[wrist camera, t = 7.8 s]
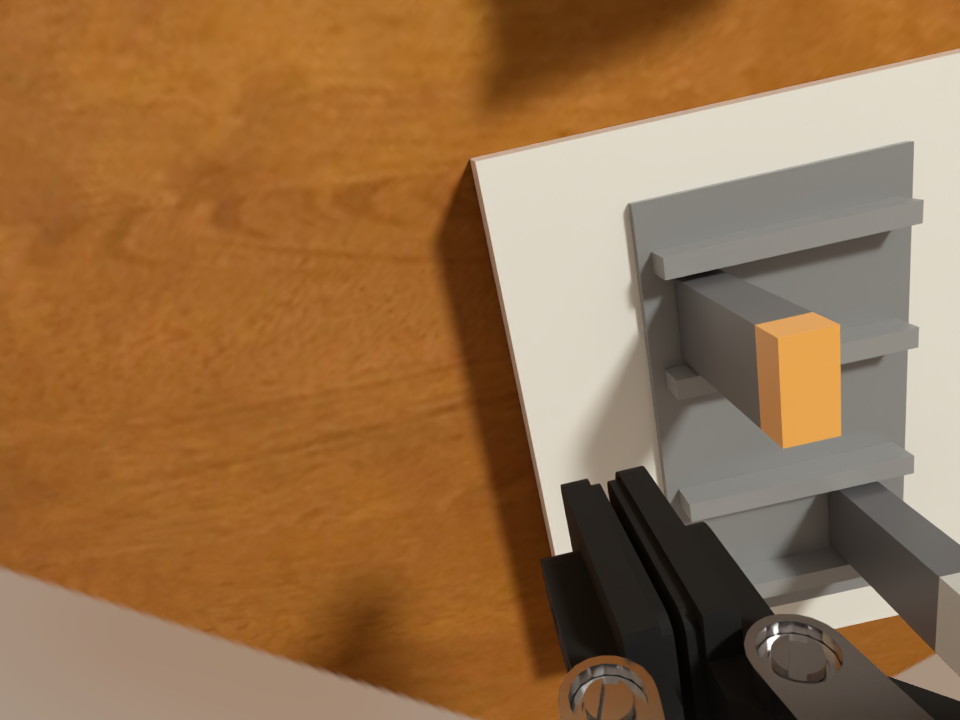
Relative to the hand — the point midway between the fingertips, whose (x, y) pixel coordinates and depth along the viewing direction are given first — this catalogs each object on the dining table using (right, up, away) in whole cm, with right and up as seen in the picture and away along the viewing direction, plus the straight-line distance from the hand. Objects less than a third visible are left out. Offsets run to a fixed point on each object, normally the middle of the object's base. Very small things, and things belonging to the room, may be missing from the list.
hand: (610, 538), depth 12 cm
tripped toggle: (+6, +5, +11) cm, 13 cm away
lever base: (+9, +3, +16) cm, 19 cm away
